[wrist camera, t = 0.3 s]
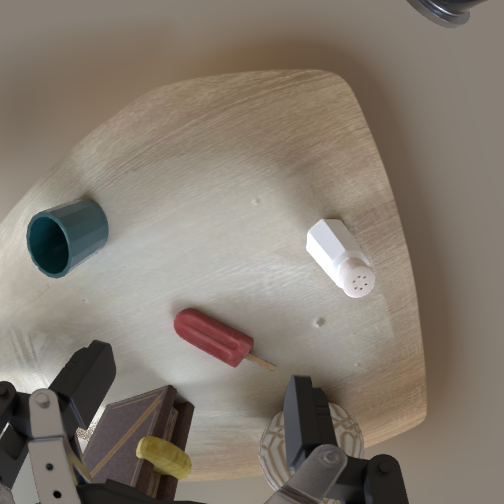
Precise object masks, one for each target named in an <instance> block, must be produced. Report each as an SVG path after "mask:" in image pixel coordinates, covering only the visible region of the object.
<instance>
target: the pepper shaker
mask: <svg viewBox="0 0 504 504" xmlns="http://www.w3.org/2000/svg"><path fill="white" fill-rule="evenodd" d="M306 250H307V251H308V252H309V253H310V254H311V255H312V256H313V258H314V259H315V260H316V261H317V262H318V263H319V265H320V266H321V267H322V268H323V269H324V270H325V272H326V273H327V274H328V275H329V276H330V277H331V278H332V280H333V281H334V282H335V283H336V284H337V285H338V286H339V287H340V288H343V290H344V292H345V293H346V294H347V295H348V296H350V297H354V298H356V297H362V296H364V295H366V294H367V293H369V292H370V291H371V289H372V288H373V286H374V284H375V280H376V279H375V273H374V271H373V270H372V268H371V267H369V265H370V262H369V260H368V258H367V256H366V255H365V253H364V252H363V250H362V249H361V247H360V246H359V244H358V243H357V241H356V240H355V238H354V237H353V235H352V234H351V233H350V231H349V230H348V229H347V228H346V226H345V225H344V224H343V223H342V221H341V220H337V219H321V220H320V221H319V222H318V223H317V224H315V225H314V226H313V227H312V228H311V229H310V230H309V231H308V235H307V246H306Z"/></svg>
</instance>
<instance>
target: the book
mask: <svg viewBox="0 0 504 504" xmlns="http://www.w3.org/2000/svg"><path fill="white" fill-rule="evenodd" d="M176 393H177V390H176V389H175V388H174V387H173V386H171V385H168V386H165V387H162V388H159V389H156V390H153V391H150V392H147V393H144V394H141V395H138V396H135V397H132V398H129V399H125V400H122V401H119V402H115V403H112V404H108V405H107V407H106V408H105V410H104V412H103V414H102V416H101V418H100V420H99V422H98V424H97V426H96V428H95V430H94V432H93V434H92V436H91V438H90V440H89V442H88V444H87V446H86V448H85V451H84V453H83V458H84V461H85V464H86V467H87V469H88V471H89V473H90V475H91V477H92V479H93V481H94V483H105V482H106V479H107V478H109V479H111V480H114V481H117V482H120V483H123V484H126V485H129V486H132V487H134V488H136V489H137V490H139V491H141V492H143V493H145V494H147V495H149V496H151V497H153V498H155V499H157V500H162V501H174V497H175V492H176V488H177V483H178V480H182V479H185V478H187V477H188V475H189V474H190V472H191V467H192V465H191V460H190V458H189V456H188V455H187V454H186V453H185V452H184V451H185V447H186V442H187V438H188V434H189V429H190V425H191V421H192V416H193V412H194V406H193V405H192V404H191V403H189V402H186V403H182V404H179V405H176V406H172V405H173V402H174V399H175V396H176Z"/></svg>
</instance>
